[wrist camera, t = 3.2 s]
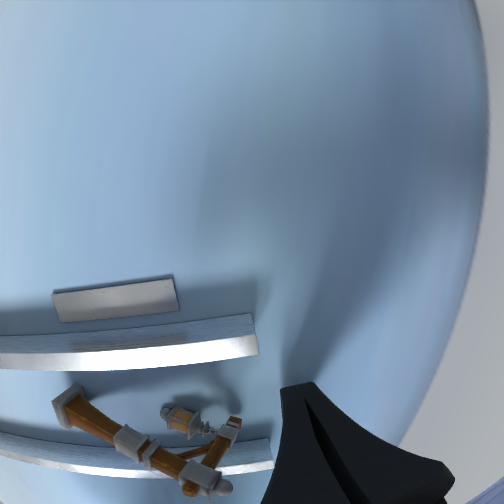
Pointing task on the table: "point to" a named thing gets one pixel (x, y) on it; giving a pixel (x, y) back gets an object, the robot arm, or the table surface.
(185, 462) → the wooden post with brackets
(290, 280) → the table surface
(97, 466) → the guide rail
